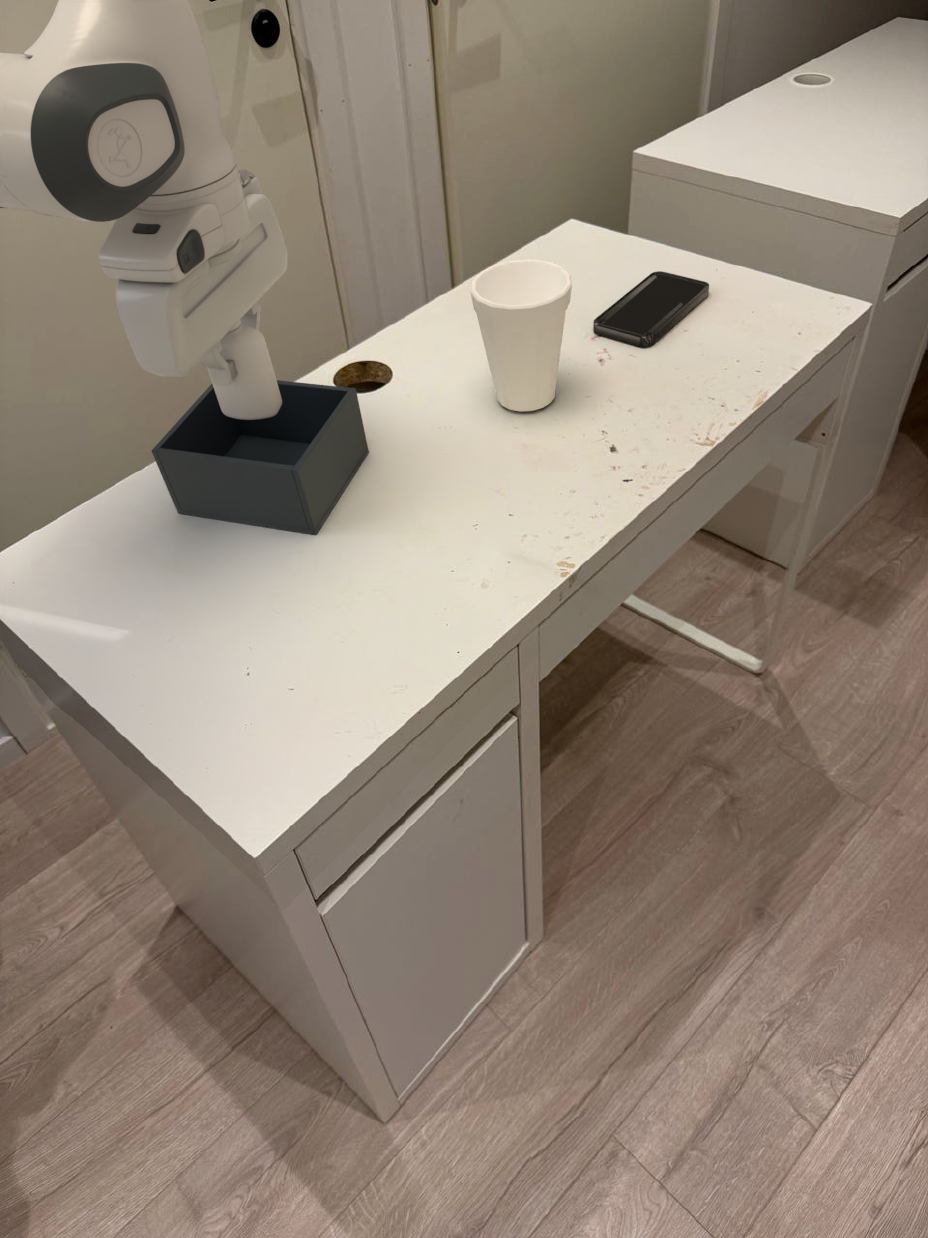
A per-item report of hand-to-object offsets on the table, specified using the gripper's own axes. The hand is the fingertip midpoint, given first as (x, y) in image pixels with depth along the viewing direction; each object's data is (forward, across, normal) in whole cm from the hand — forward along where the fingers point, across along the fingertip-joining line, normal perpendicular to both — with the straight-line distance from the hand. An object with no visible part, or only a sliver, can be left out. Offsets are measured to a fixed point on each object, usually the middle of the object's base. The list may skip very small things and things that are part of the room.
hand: (239, 367), depth 80 cm
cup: (+13, -19, +21) cm, 31 cm away
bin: (+13, 0, 0) cm, 13 cm away
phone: (+13, -39, +31) cm, 52 cm away
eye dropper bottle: (+5, 0, 0) cm, 5 cm away
